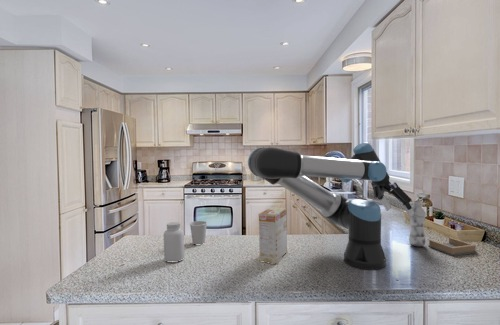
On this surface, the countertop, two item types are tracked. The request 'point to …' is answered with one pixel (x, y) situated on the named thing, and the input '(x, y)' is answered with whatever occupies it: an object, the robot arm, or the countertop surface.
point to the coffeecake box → (272, 234)
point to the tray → (454, 247)
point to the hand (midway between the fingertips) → (399, 211)
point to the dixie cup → (198, 231)
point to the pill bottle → (173, 242)
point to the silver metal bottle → (417, 225)
